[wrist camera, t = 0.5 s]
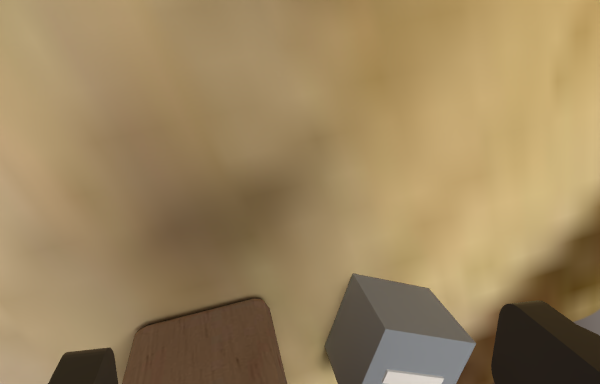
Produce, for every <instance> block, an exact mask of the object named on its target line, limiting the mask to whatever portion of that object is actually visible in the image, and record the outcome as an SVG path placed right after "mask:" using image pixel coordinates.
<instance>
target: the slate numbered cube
mask: <svg viewBox="0 0 600 384" xmlns="http://www.w3.org/2000/svg"><path fill="white" fill-rule="evenodd" d="M475 345H476V343H475V342H474V340H473V339H472V338H471V337H470V336H469V335H468V333H467V332H466V331H465V330H464V329H463V328H462V326H461V325H460V324H459V323H458V322H457V321H456V320H455V318H454V317H453V316H452V315H451V314H450V313H449V311H448V310H447V309H446V308H445V307H444V306H443V304H442V303H441V302H440V301H439V300H438V299H437V297H436V296H435V295H434V294H433V293H432V292H431V290H430V289H429V288H425V287H419V286H414V285H409V284H404V283H399V282H394V281H389V280H384V279H379V278H373V277H368V276H363V275H358V274H352V277H351V279H350V282H349V284H348V287H347V290H346V292H345V295H344V297H343V300H342V302H341V305H340V308H339V310H338V313H337V315H336V318H335V320H334V323H333V326H332V328H331V331H330V333H329V336H328V338H327V341H326V344H325V349H326V352H327V355H328V357H329V360H330V363H331V366H332V368H333V371H334V374H335V377H336V380H337V382H338V384H456V382H457V380H458V378H459V376H460V374H461V372H462V370H463V369H464V367H465V365H466V363H467V361H468V359H469V357H470V355H471V353H472V351H473V349H474V347H475Z"/></svg>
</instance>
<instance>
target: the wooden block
mask: <svg viewBox="0 0 600 384" xmlns="http://www.w3.org/2000/svg"><path fill="white" fill-rule="evenodd" d="M122 384H287V382H286V377H285V373H284V369H283V365H282V360H281V356H280V352H279V347H278V343H277V339H276V334H275V330H274V326H273V322H272V317H271V313H270V309H269V307H268V306H267V305H266V304H265V302H264V301H263V300H262V299H250V300H246V301H242V302H238V303H234V304H230V305H226V306H222V307H218V308H215V309H211V310H207V311H203V312H199V313H195V314H191V315H187V316H183V317H179V318H175V319H171V320H167V321H163V322H159V323H156V324H152V325H148V326H145V327H144V328H142V329H140V330H139V331H138V332H137V333H136V334H135V337H134V341H133V345H132V348H131V352H130V356H129V360H128V364H127V367H126V371H125V375H124V379H123V383H122Z"/></svg>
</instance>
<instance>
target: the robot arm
mask: <svg viewBox="0 0 600 384" xmlns="http://www.w3.org/2000/svg"><path fill="white" fill-rule="evenodd" d="M491 367H492V375H493V379H494V382H495V384H600V336H599V335H598V334H595V333H593V332H591V331H589V330H587V329H585V328H582V327H580V326H578V325H576V324H575V323H573V322H572V321H571V320H569V319H568V318H566V317H565V316H564V315H562V314H561V313H559V312H558V311H557V310H555V309H554V308H552V307H551V306H550V305H548V304H547V303H545V302H543V301H530V302H521V303H512V304H506V305H504V306H503V307H502V309H501V311H500V314H499V320H498V326H497V332H496V338H495V345H494V351H493V357H492V365H491ZM48 384H118V379H117V372H116V365H115V358H114V353H113V351H112V349H111V348H102V349H93V350H84V351H75V352H66V353H65V354H64V355H63V356H62V358H61V360H60V362H59V364H58V366H57V367H56V369H55V371H54V373H53V375H52V377H51V379H50V381H49V383H48Z"/></svg>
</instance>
